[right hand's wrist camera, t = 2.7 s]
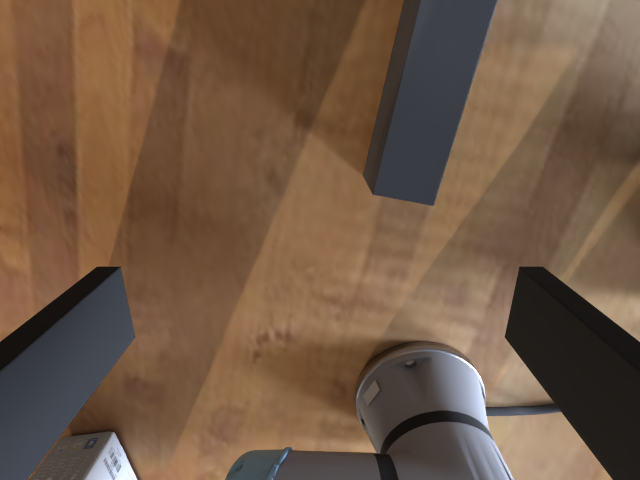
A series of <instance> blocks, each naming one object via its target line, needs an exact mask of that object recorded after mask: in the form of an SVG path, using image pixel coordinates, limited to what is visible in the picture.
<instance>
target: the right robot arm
mask: <svg viewBox="0 0 640 480" xmlns="http://www.w3.org/2000/svg"><path fill="white" fill-rule="evenodd" d="M134 338H135V334H134V329H133V324H132V319H131V315H130V310H129V305H128V300H127V296H126V291H125V286H124V281H123V276H122V272H121V267H96V268H95V269H94V270H92V271H91V272H90V273H88V274H87V275H86V276H85V277H83V278H82V279H81V280H79V281H78V282H77V283H76V284H74V285H73V286H72V287H70V288H69V289H68V290H67V291H65V292H64V293H63V294H61V295H60V296H59V297H58V298H56V299H55V300H54V301H52V302H51V303H50V304H49V305H47V306H46V307H45V308H43V309H42V310H41V311H40V312H38V313H37V314H36V315H34V316H33V317H32V318H31V319H29V320H28V321H27V322H25V323H24V324H23V325H22V326H20V327H19V328H18V329H16V330H15V331H14V332H13V333H11V334H10V335H9V336H7V337H6V338H5V339H4V340H2V341H1V342H0V480H27V479H28V478H29V477H30V475H31V474H32V473H33V471H34V470H35V469H36V467H37V466H38V465H39V463H40V462H41V461H42V459H43V458H44V457H45V455H46V454H47V453H48V451H49V450H50V449H51V448H52V446H53V445H54V444H55V442H56V441H57V440H58V438H59V437H60V436H61V434H62V433H63V432H64V430H65V429H66V428H67V426H68V425H69V424H70V422H71V421H72V420H73V419H74V417H75V416H76V415H77V413H78V412H79V411H80V409H81V408H82V407H83V405H84V404H85V403H86V401H87V400H88V399H89V397H90V396H91V395H92V393H93V392H94V391H95V390H96V388H97V387H98V386H99V384H100V383H101V382H102V380H103V379H104V378H105V376H106V375H107V374H108V372H109V371H110V370H111V368H112V367H113V366H114V364H115V363H116V362H117V361H118V359H119V358H120V357H121V355H122V354H123V353H124V351H125V350H126V349H127V347H128V346H129V345H130V343H131V342H132V341H133V339H134ZM505 338H506V339H507V341H508V342H509V343H510V345H511V346H512V347H513V349H514V350H515V351H516V353H517V354H518V355H519V357H520V358H521V359H522V361H523V362H524V363H525V364H526V366H527V367H528V368H529V370H530V371H531V372H532V374H533V375H534V376H535V378H536V379H537V380H538V382H539V383H540V384H541V386H542V387H543V388H544V390H545V391H546V392H547V393H548V395H549V396H550V397H551V399H552V400H553V401H554V403H555V404H547V405H538V406H518V407H485V402H486V400H485V390H484V385H483V383H482V380H481V378H480V376H479V375H478V373H477V371H476V369H475V367H474V366H473V364H472V363H471V361H470V360H469V359H468V358H467V357H466V356H465V355H463V354H462V353H461V352H459V351H458V350H456V349H454V348H452V347H449V346H447V345H444V344H440V343H435V342H411V343H405V344H402V345H398V346H395V347H393V348H390V349H388V350H386V351H384V352H383V353H381V354H379V355H378V356H377V357H375V358H374V359H373V360H372V361H371V362H370V363H369V364H368V365H367V366H366V367H365V368H364V370H363V371H362V373H361V375H360V376H359V379H358V381H357V384H356V389H355V401H356V409H357V415H358V418H359V421H360V423H361V425H362V426H363V428H364V430H365V432H366V433H367V434H368V436H369V438H370V441H371V443H372V445H373V447H374V448H375V450H376V452H377V453H359V452H324V451H294V450H292V448H291V447H286V448H285V449H284V450H254V451H249V452H247V453H245V454H243V455H242V456H240V457H239V458H238V459H237V461H236V462H235V463H234V464H233V466H232V467H231V469H230V471H229V473H228V475H227V477H226V479H225V480H514V479H513V477H512V475H511V473H510V471H509V469H508V467H507V465H506V463H505V461H504V459H503V457H502V456H501V454H500V452H499V450H498V448H497V446H496V444H495V442H494V440H493V438H492V436H491V434H490V432H489V427H488V421H487V416H511V415H535V414H547V413H555V412H562V413H563V415H564V416H565V417H566V419H567V420H568V421H569V422H570V424H571V425H572V426H573V428H574V429H575V430H576V432H577V433H578V434H579V436H580V437H581V438H582V440H583V441H584V442H585V444H586V445H587V446H588V448H589V449H590V450H591V451H592V453H593V454H594V455H595V457H596V458H597V459H598V461H599V462H600V463H601V465H602V466H603V467H604V469H605V470H606V471H607V473H608V474H609V475H610V477H611V478H612V479H613V480H640V342H639V341H638V340H636V339H635V338H634V337H633V336H631V335H630V334H629V333H627V332H626V331H625V330H624V329H622V328H621V327H620V326H618V325H617V324H616V323H615V322H613V321H612V320H611V319H609V318H608V317H607V316H606V315H604V314H603V313H602V312H600V311H599V310H598V309H597V308H595V307H594V306H593V305H591V304H590V303H589V302H588V301H586V300H585V299H584V298H582V297H581V296H580V295H579V294H577V293H576V292H575V291H573V290H572V289H571V288H570V287H568V286H567V285H566V284H564V283H563V282H562V281H561V280H559V279H558V278H557V277H555V276H554V275H553V274H552V273H550V272H549V271H548V270H546V269H545V268H544V267H519V272H518V276H517V281H516V286H515V291H514V296H513V300H512V305H511V310H510V315H509V319H508V324H507V329H506V334H505Z"/></svg>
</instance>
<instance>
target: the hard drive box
mask: <svg viewBox="0 0 640 480" xmlns="http://www.w3.org/2000/svg"><path fill="white" fill-rule="evenodd" d="M30 480H137V478H136V476H135V474H134V472H133V470H132V468H131V466H130V463H129V461H128V459H127V457H126V454H125V452H124V450H123V448H122V446H121V445H120V443H119V440H118V438H117V436H116V434H115V432H111V431H108V432H101V433H93V434H85V435H77V436H69V437H62V438H60V439H59V441H58V442H57V443H56V445H55V446H54V447H53V449H52V450H51V451H50V453H49V454H48V455H47V457H46V458H45V460H44V461H43V462H42V464H41V465H40V466H39V467H38V469H37V470H36V472H35V473H34V474H33V476H32V477H31V478H30Z"/></svg>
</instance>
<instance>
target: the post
mask: <svg viewBox="0 0 640 480" xmlns="http://www.w3.org/2000/svg"><path fill="white" fill-rule="evenodd" d="M496 3H497V0H404V3H403V7H402V11H401V16H400V20H399V24H398V28H397V33H396V37H395V41H394V46H393V50H392V54H391V58H390V63H389V67H388V71H387V76H386V80H385V84H384V88H383V93H382V97H381V101H380V106H379V110H378V114H377V118H376V123H375V127H374V131H373V135H372V140H371V144H370V148H369V153H368V157H367V161H366V165H365V170H364V174H363V177H364V179H365V181H366V182H367V184H368V186H369V188H370V190H371V192H372V194H373V195H378V196H384V197H389V198H394V199H400V200H405V201H410V202H416V203H421V204H426V205H431V206H434V203H435V200H436V197H437V193H438V190H439V187H440V184H441V180H442V177H443V174H444V171H445V168H446V164H447V161H448V158H449V155H450V151H451V148H452V145H453V142H454V139H455V135H456V132H457V129H458V126H459V122H460V119H461V116H462V113H463V110H464V106H465V103H466V100H467V97H468V93H469V90H470V87H471V84H472V81H473V77H474V74H475V71H476V68H477V64H478V61H479V58H480V55H481V52H482V48H483V45H484V42H485V39H486V35H487V32H488V29H489V26H490V23H491V19H492V16H493V13H494V10H495V6H496Z"/></svg>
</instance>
